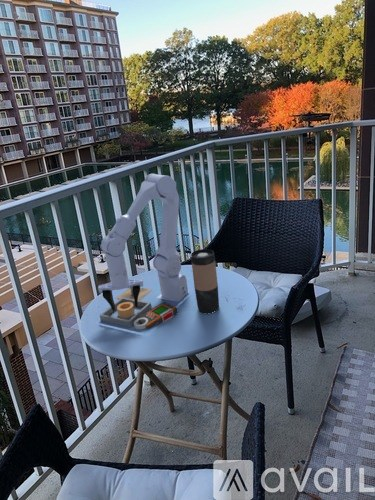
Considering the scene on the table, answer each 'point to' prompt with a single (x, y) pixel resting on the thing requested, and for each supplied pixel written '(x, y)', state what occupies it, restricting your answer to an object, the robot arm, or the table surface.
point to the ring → (125, 310)
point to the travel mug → (205, 280)
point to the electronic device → (156, 316)
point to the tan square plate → (129, 293)
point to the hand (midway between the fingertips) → (125, 307)
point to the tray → (129, 323)
